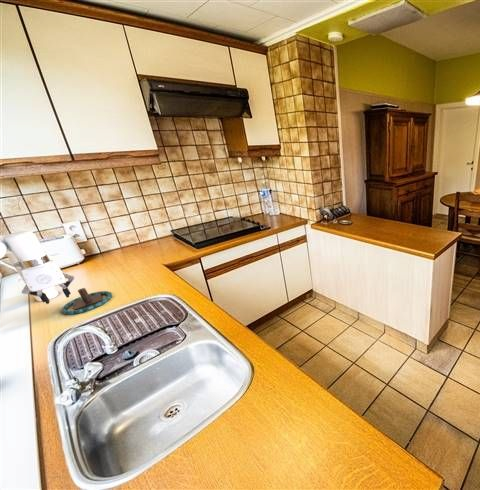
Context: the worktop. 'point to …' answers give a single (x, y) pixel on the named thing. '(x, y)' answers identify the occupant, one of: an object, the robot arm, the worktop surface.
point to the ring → (65, 311)
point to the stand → (86, 299)
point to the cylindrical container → (49, 292)
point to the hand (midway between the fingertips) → (58, 299)
